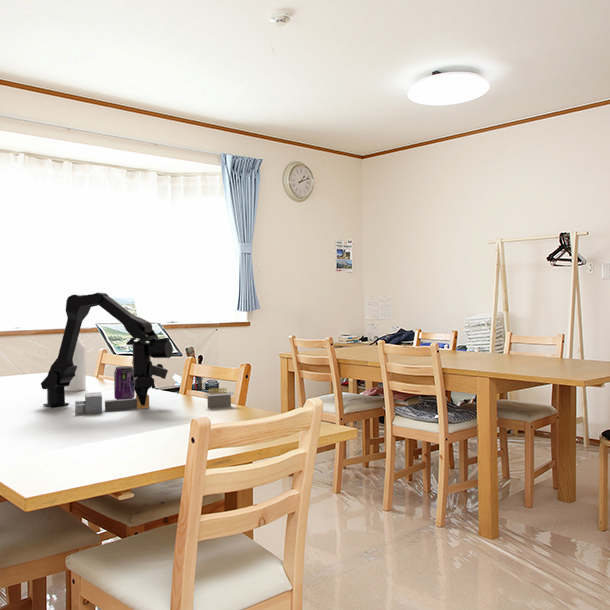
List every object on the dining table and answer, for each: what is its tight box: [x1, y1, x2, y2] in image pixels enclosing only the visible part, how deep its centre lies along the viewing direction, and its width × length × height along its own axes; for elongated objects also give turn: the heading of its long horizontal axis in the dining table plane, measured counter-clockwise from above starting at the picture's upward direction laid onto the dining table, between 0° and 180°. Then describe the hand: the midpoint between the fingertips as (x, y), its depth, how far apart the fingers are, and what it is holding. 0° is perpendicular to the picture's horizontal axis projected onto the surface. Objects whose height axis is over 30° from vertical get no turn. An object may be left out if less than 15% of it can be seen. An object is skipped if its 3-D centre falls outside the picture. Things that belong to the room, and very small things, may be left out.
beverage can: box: [113, 365, 136, 400], centre depth 215 cm, size 7×7×12 cm
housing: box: [74, 391, 103, 416], centre depth 190 cm, size 8×10×6 cm
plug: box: [104, 393, 150, 412], centre depth 194 cm, size 14×4×4 cm, turn 111°
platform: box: [203, 387, 235, 409], centre depth 195 cm, size 12×18×7 cm, turn 111°
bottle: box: [65, 336, 87, 392], centre depth 243 cm, size 8×8×30 cm
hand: (142, 404), depth 196 cm, fingers closed on plug, 4 cm apart
